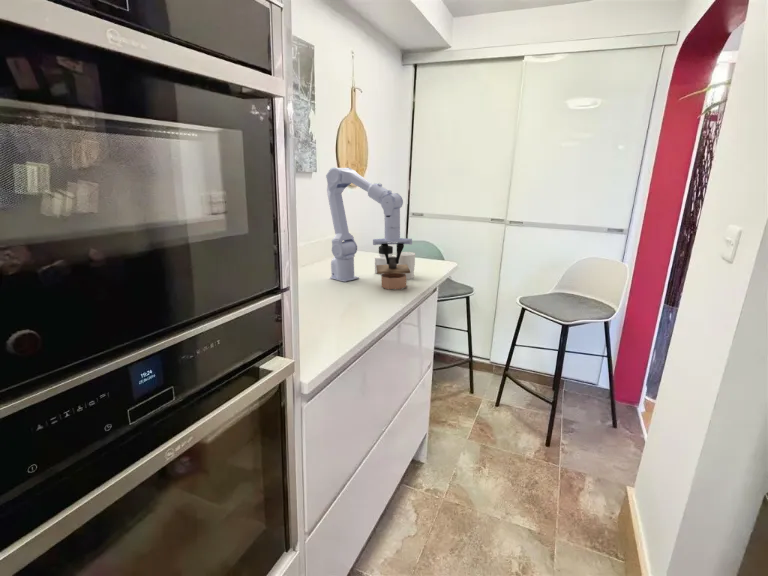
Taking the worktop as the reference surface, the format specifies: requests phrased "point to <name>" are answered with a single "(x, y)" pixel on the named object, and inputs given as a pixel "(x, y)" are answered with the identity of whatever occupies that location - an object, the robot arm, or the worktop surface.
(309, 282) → the worktop surface
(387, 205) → the robot arm
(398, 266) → the lid
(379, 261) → the medicine bottle
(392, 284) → the bowl
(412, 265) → the white cup
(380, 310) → the worktop surface
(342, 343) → the worktop surface
